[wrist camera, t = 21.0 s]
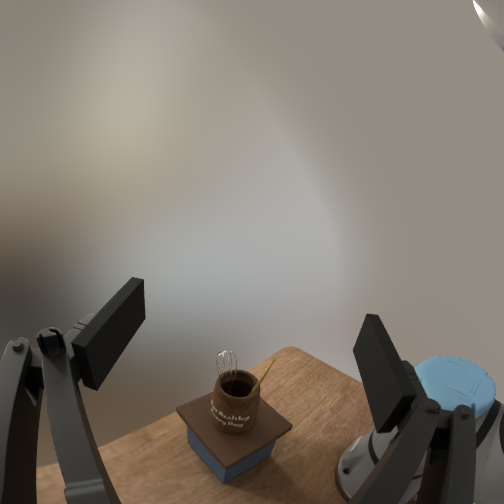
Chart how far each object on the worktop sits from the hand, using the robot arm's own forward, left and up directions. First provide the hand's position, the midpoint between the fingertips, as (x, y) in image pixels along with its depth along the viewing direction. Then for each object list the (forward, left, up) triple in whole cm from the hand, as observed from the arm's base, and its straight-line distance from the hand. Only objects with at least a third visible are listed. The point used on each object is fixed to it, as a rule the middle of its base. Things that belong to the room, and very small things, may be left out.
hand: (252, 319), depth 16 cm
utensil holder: (+7, -7, -23) cm, 25 cm away
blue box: (+7, -7, -32) cm, 33 cm away
